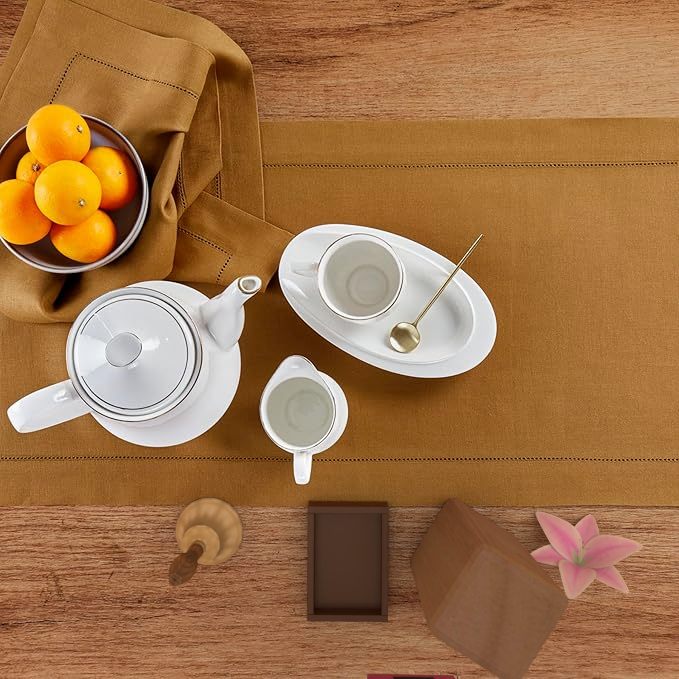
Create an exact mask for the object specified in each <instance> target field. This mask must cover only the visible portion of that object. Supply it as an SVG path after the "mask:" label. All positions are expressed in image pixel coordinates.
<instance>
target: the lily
mask: <svg viewBox="0 0 679 679" xmlns="http://www.w3.org/2000/svg"><path fill="white" fill-rule="evenodd" d="M535 517H536V520H537V522H538V523H539V526H540V527H541V529H542V531H543V532H544V534H545V536H546V539H547V540H548V542H549V543H548V544H546V545H543V546H541V547H539V548H537V549H534V550H533V551H532V552H529V553H530V554H531V555H532V556H533V557H534V559H535V560H536V561H537V562H538V563H539V564H540V563H541V564H544V565H549V566H553V567H558V570H559V575H560V579H561V582H562V586H563V591H564V593H565V595H566V596H567V598H568V600H574V599H576V598H578V596H581V594H582V593H583V592H584V591H585V590H587V588H588V587H589V586H590V585H591V584H592V583H593V582H594V581H595V580H596V581H598V582H600V583H602V584H604V585H606V586H607V587H610V588H612V589H615V590H617V591H618V592H621V593H624V594H629V593H630V590H629V588H628V585H627V583H626V582H625V580H624V578H623V576H622V574H621V573H620V571H619V570H618V569H617V568H616V566H614V565H615V564H617V563H619V562H621V561H623V560H625V559H626V558H628V557H630V556H632V555H634V554H636V553H637V552H639V551H641V550H642V549H643V548H644V545H643V544H642V543H641V542H639V541H637V540H633V539H630V538H627V537H624V536H623V537H622V536H619V535H614V534H613V535H612V534H600V529H599V526H598V522H597V520H596V519H595V517H594V515H593V514H591V513H590V514H587V515H585V516H584V517H582V518H581V519H580V520H579V521H578V522H577V523H576V524H575V525H573V524H571V523H570V522H569V521H567V520H565V519H564V518H561V517H558V516H556V515H553V514H550V513H547V512H545V511H540V510H537V511H535Z"/></svg>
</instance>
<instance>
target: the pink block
mask: <svg viewBox="0 0 679 679" xmlns="http://www.w3.org/2000/svg"><path fill="white" fill-rule="evenodd" d="M393 677H434V679H456V678H455V675H454V674H417V673H415V674H413V673H409V674H408V673H367V674H366V679H393Z"/></svg>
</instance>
